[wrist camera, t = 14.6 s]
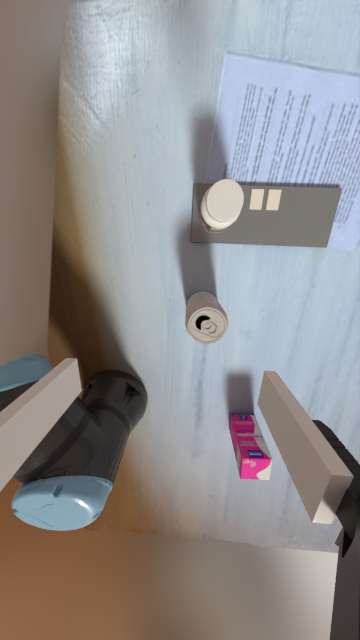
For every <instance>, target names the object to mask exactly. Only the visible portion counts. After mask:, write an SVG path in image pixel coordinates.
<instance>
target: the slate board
mask: <svg viewBox="0 0 360 640" xmlns="http://www.w3.org/2000/svg"><path fill="white" fill-rule="evenodd" d="M213 185H214V184H194V196H193V214H192V233H191V242H202V243H227V244H251V245H275V246H300V247H324V248H325V247H327V244H328V240H329V236H330V233H331V229H332V225H333V221H334V217H335V214H336V210H337V206H338V202H339V198H340V195H341V191H342V188H320V187H287V186H254V185H240V186H241V188H242V191H243V194H244V202H243V206H242V209H241V212H240V214H239V216H238V218H237V219H236V221H235V222H234V223H233V224H231V225H230V226H229V227H227V228H226V229H225V230H223V231H221V232H218V233H211V232H208V231H206V230H205V229H204V228H203V227H202V225H201V223H200V221H199V210H200V206H201V202H202V199H203V196H204V194H205V193H206V191H207V190H208V189H209V188H210V187H211V186H213Z"/></svg>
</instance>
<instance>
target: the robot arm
mask: <svg viewBox="0 0 360 640" xmlns="http://www.w3.org/2000/svg"><path fill="white" fill-rule="evenodd" d="M81 391H82V390H81V383H80V376H79V369H78V362H77V359H73V358H66V359H65V360H64V361H62V362H61V363H60V364H59V365H57V366H56V367H55V368H54V367H53V366H52V365H51V364H50V363H49V362H48V361H47V360H46V359H45V358H44V357H43V356H41V355H39V354H34V353H33V354H27V355H24V356H22V357H19V358H17V359H15V360H13V361H10V362H8V363H6V364H4V365H1V366H0V491H1V490H2V489H3V487H4V486H5V485H6V484H7V482H8V481H9V480H10V479H11V478H12V477H13V478H14V479H15V480H17V481H18V482H19V483H20V484H21V487H20V488H19V489H18V490H17V491H16V493H15V496H14V499H13V500H12V508H13V512H14V514H15V515H16V516H17V517H18V518H20V519H21V520H23V521H24V522H26V523H28V524H30V525H33V526H36V527H39V528H43V529H48V530H61V531H62V530H73V529H78V528H82V527H84V526H86V525H88V524H90V523H92V522H93V521H94V520H95V519H96V518H97V517H98V516H99V515H100V513H101V511H102V509H103V507H104V504H105V502H106V499H107V497H108V494H109V492H110V491H111V489H112V486H113V482H114V479H115V476H116V473H117V470H118V467H119V464H120V461H121V458H122V455H123V452H124V449H125V446H126V443H127V439H128V436H129V434H130V432H131V431H132V430H133V428H134V427H135V426H136V425H137V423H138V422H139V421H140V420H141V418H142V417H143V415H144V413H145V410H146V406H147V393H146V391H145V389H144V387H143V385H142V384H141V383H140V382H139V381H138V380H137V379H136V378H134V377H133V376H131V375H129V374H127V373H124V372H120V371H105V372H102V373H99V374H97V375H96V376H94V377H93V378H92V379H91V380H90V382H89V383H88V384H87V385H86V387H85V389H84V391H83V394H82V397H81V399H80V398H79V397H78V395H79V394H80V392H81ZM258 405H259V408H260V410H261V412H262V414H263V416H264V419H265V421H266V423H267V425H268V427H269V429H270V432H271V434H272V436H273V438H274V440H275V443H276V445H277V447H278V449H279V451H280V453H281V456H282V458H283V460H284V462H285V464H286V467H287V469H288V471H289V473H290V475H291V478H292V480H293V482H294V484H295V486H296V488H297V491H298V493H299V495H300V497H301V499H302V502H303V504H304V506H305V508H306V510H307V512H308V515H309V517H310V519H311V521H312V522H313V523H324V524H332V522H333V520H334V518H335V516H336V515H337V517H338V519H339V520H340V522H341V524H342V526H343V528H342V530H341V532H340V534H339V536H338V538H337V540H336V542H335V544H336V545H337V546H339V554H338V564H337V573H336V583H335V593H334V604H333V613H332V623H331V632H330V640H360V465H359V463H358V462H357V461H356V460H355V458H354V457H353V456H352V455H351V454H350V452H349V451H348V450H347V449H346V448H345V446H344V445H343V444H342V442H341V441H339V439H338V438H337V436H336V435H335V434H334V433H333V431H332V430H331V429H330V428H329V427H327V426H326V425H325V424H324V423H322V422H321V421H319V420H311V418H310V417H309V416H308V414H307V413H306V412H305V410H304V409H303V408H302V406H301V405H300V404H299V402H298V401H297V400H296V398H295V397H294V395H293V394H292V393H291V391H290V390H289V389H288V387H287V386H286V385H285V383H284V382H283V381H282V379H281V378H280V377H279V375H278V374H277V373H276V372H275V371H264V375H263V380H262V385H261V389H260V394H259V399H258Z"/></svg>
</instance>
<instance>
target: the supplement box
mask: <svg viewBox="0 0 360 640" xmlns="http://www.w3.org/2000/svg"><path fill="white" fill-rule="evenodd" d="M230 434H231V438H232V443H233V447H234V452H235V456H236V461H237V465H238V470H239V475H240V478H241V479H259V480H270V471H271V464H272V457H271V455H270V452H269V450H268V447H267V445H266V442H265V440H264V437H263V435H262V432H261V430H260V427H259V425H258V422H257V420H256V417H255V415H254V414H231V420H230Z"/></svg>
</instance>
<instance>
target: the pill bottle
mask: <svg viewBox="0 0 360 640" xmlns="http://www.w3.org/2000/svg"><path fill="white" fill-rule="evenodd" d="M243 202H244V194H243V191H242V188H241V186H240V185H239V184H238V183H237V182H236V181H234V180H231V179H222V180H219V181H217V182H216V183H215V184H214V185H213V186H211V187H210V188H209V189H208V190H207V191H206V193H205V194H204V196H203V199H202V202H201V206H200V210H199V221H200V223H201V225H202V227H203V228H204V229H205V230H206V231H208V232H211V233H218V232H221V231H223V230H225V229H226V228H227V227H229V226H230V225H231V224H233V223H234V222H235V221H236V219H237V218H238V216H239V214H240V212H241V209H242V206H243Z"/></svg>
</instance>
